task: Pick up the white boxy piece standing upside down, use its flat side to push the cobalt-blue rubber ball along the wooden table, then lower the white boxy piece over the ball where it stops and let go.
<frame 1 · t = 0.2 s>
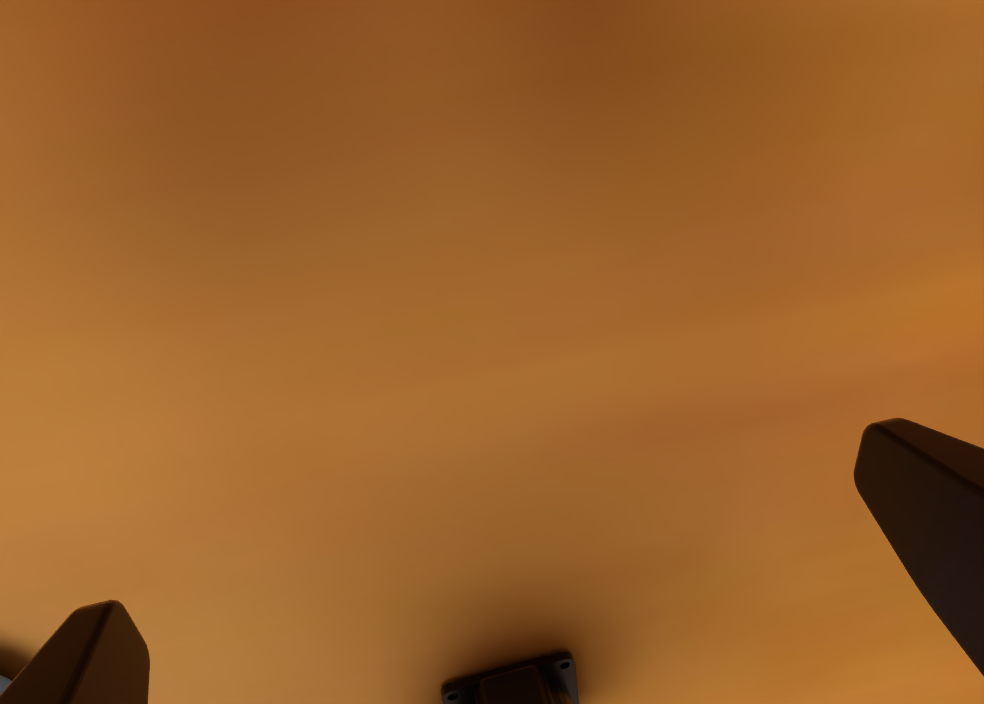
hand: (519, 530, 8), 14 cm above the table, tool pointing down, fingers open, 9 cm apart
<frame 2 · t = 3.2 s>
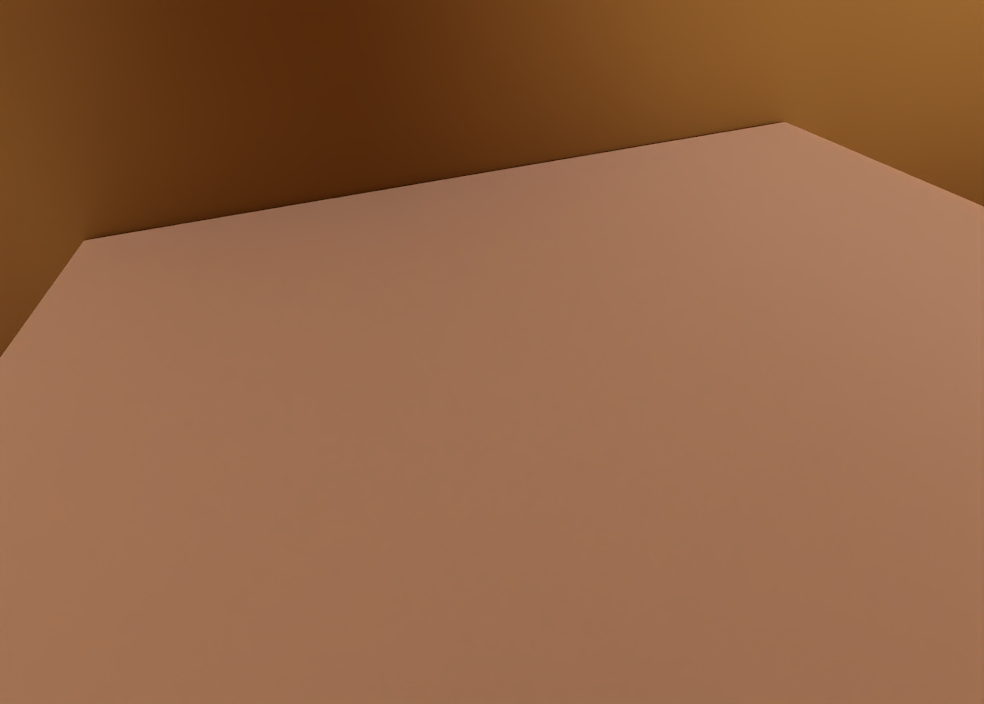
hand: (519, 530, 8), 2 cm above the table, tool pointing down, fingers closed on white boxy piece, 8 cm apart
white boxy piece: (492, 449, 10), on the table, touching gripper
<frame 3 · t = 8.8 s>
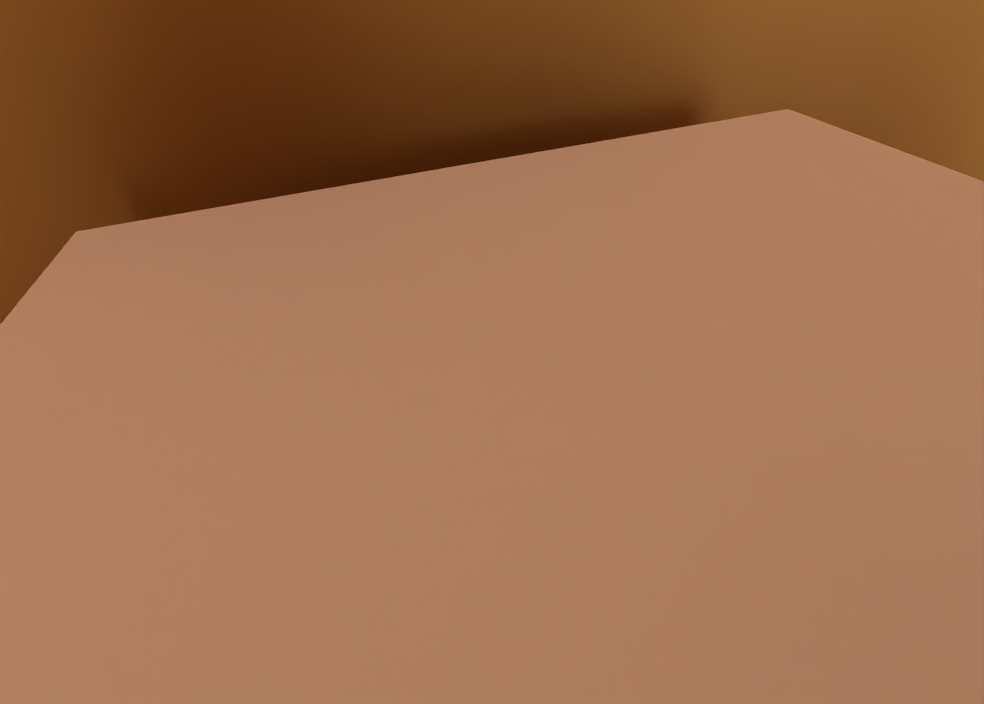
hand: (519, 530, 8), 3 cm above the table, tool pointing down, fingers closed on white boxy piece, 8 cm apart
white boxy piece: (493, 446, 10), point 2 cm above the table, touching gripper
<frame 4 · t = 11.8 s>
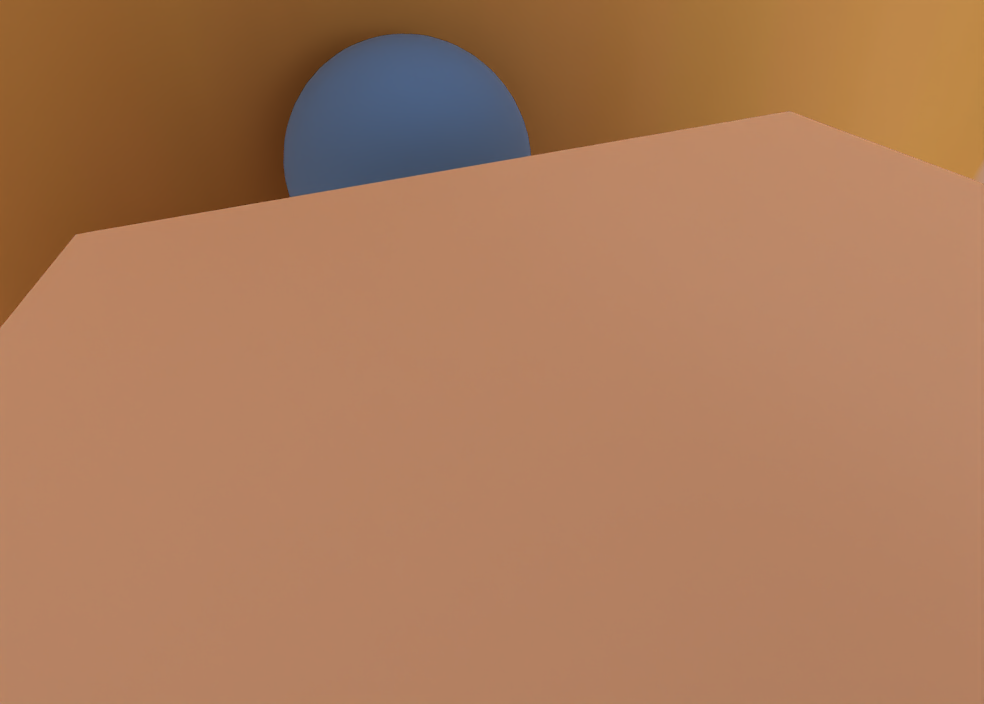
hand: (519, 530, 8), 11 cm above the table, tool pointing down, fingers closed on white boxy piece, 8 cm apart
white boxy piece: (493, 449, 10), point 10 cm above the table, touching gripper
ball: (409, 166, 15), on the table
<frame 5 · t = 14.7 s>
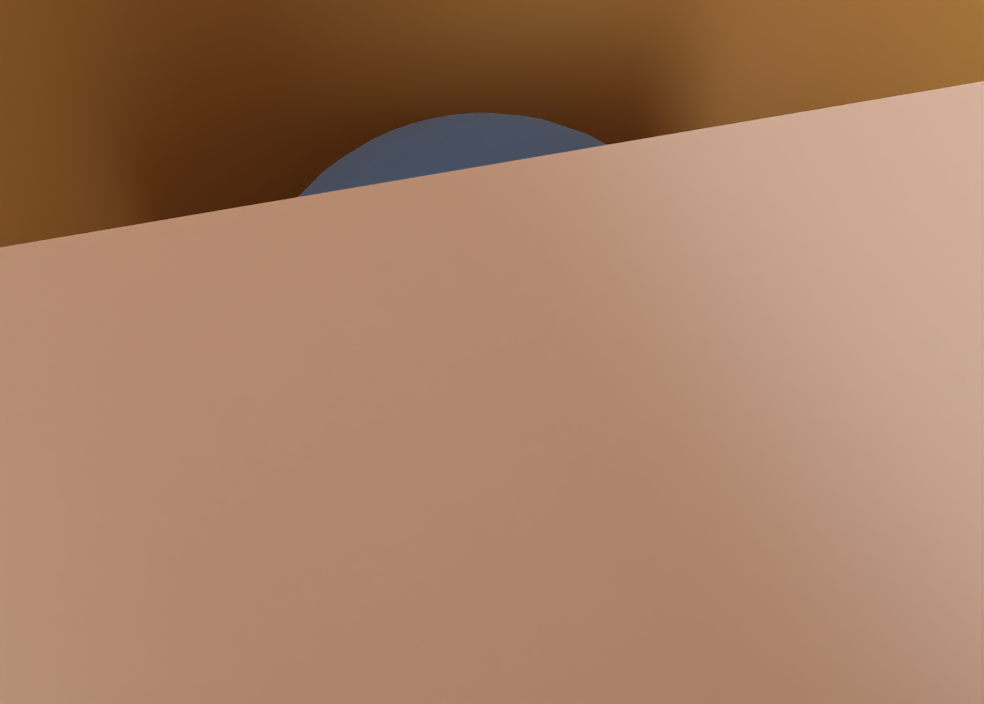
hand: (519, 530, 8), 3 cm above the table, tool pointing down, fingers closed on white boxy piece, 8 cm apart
white boxy piece: (495, 396, 8), point 2 cm above the table, tilted 31°, touching ball, gripper
ball: (485, 362, 7), on the table, touching white boxy piece
when the fingers open (3 cm above the table, at t = 15.5 s): white boxy piece stays where it is, point 2 cm above the table.
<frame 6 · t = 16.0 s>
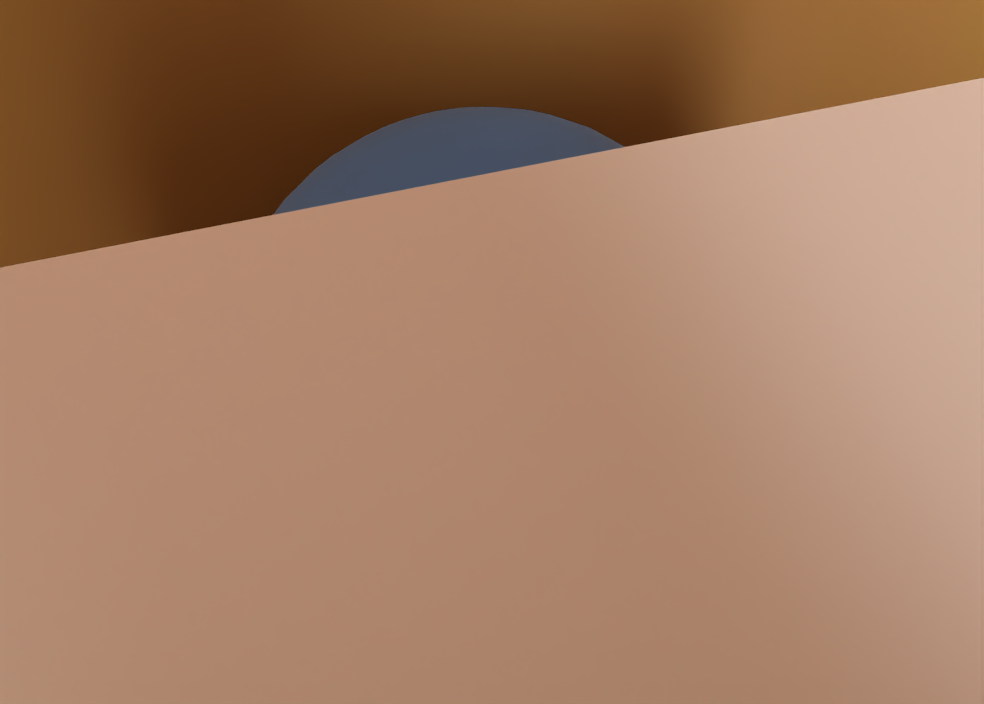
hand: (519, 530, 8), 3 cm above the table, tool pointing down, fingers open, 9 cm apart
white boxy piece: (508, 399, 8), point 2 cm above the table, tilted 33°, touching gripper
ball: (486, 368, 7), on the table
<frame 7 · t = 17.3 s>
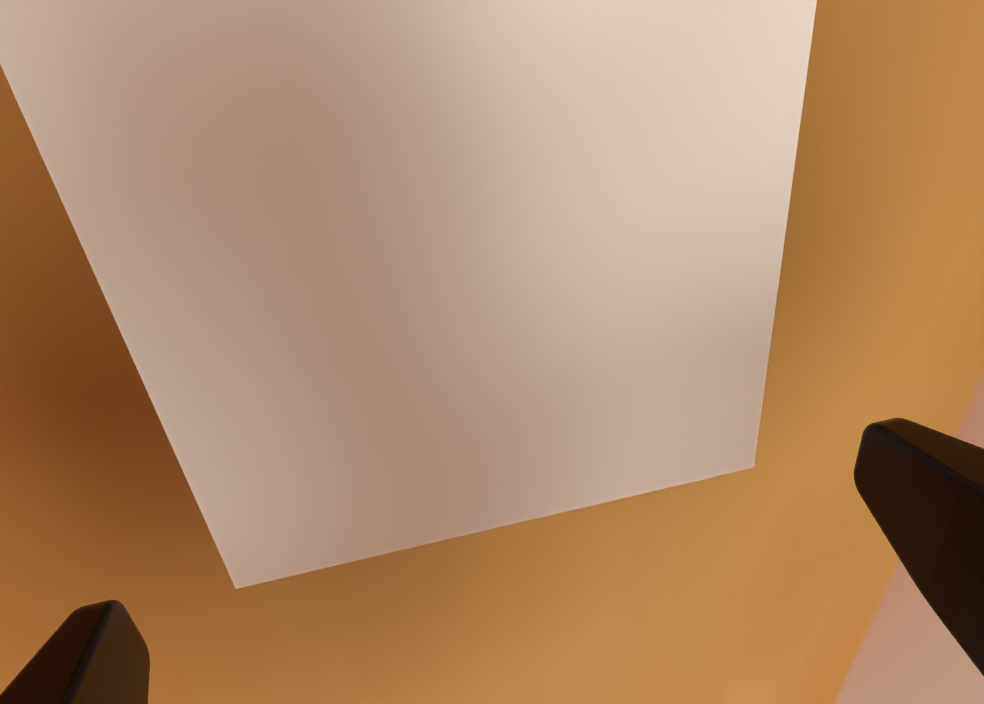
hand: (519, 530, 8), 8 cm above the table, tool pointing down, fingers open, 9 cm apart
white boxy piece: (410, 137, 14), on the table
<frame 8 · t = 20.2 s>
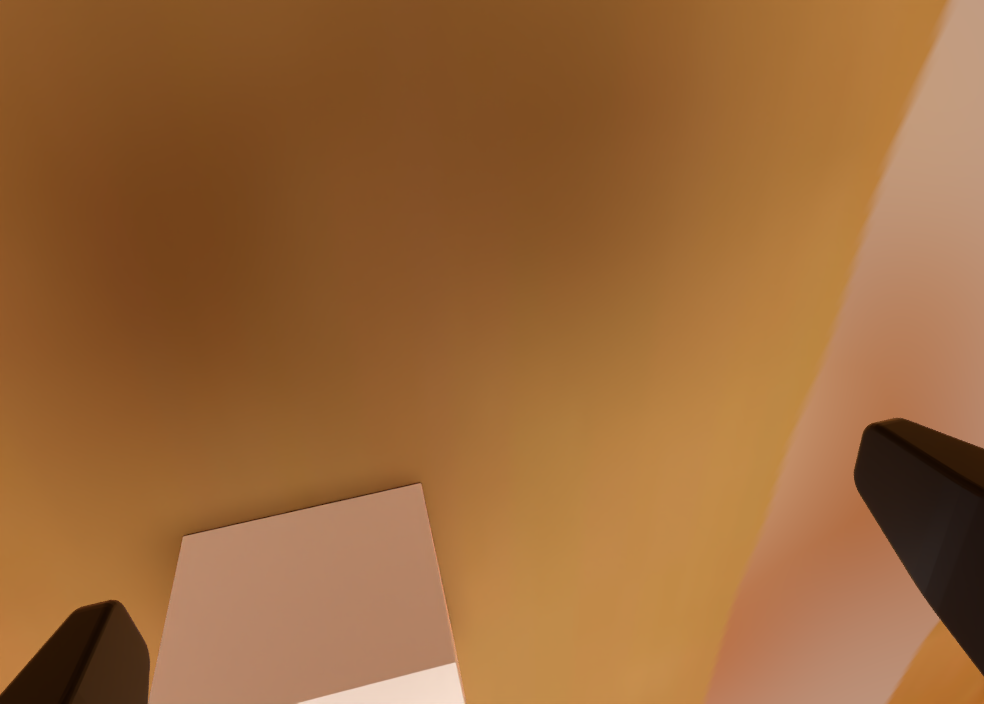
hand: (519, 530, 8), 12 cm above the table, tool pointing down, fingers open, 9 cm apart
white boxy piece: (331, 586, 25), on the table
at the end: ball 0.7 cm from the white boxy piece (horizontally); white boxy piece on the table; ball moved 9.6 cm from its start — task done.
